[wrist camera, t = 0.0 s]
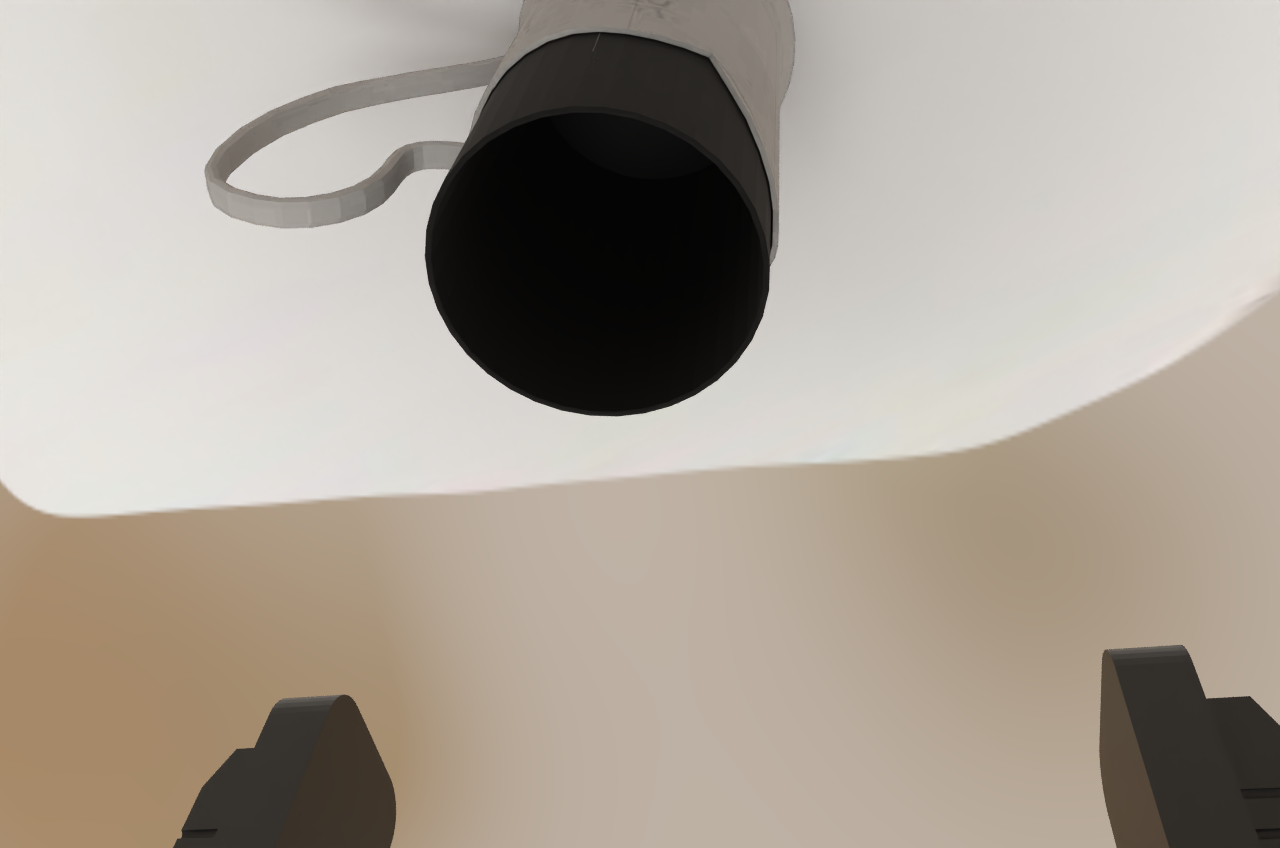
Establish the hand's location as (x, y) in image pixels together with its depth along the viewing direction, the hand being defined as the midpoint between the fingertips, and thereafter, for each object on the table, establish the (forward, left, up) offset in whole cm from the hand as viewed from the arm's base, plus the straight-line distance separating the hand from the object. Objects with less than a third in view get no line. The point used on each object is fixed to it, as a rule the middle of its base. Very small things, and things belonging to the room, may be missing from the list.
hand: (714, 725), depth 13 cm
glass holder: (+1, -6, -30) cm, 30 cm away
